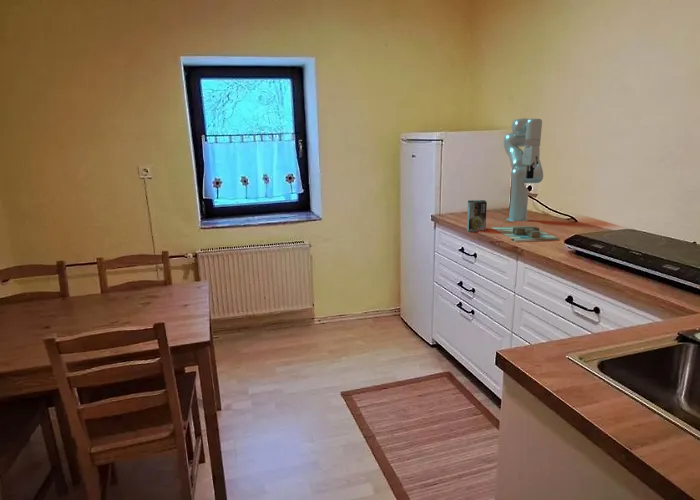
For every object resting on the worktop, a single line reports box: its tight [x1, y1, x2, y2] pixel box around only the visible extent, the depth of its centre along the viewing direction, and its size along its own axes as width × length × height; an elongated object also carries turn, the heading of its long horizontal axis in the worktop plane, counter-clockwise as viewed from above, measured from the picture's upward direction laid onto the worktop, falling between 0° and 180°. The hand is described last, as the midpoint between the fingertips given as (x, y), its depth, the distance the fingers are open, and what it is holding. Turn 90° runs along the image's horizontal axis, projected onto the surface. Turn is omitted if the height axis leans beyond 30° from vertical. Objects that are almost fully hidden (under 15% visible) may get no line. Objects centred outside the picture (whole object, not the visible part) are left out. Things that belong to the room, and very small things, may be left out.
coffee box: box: [466, 199, 488, 233], centre depth 241 cm, size 9×6×16 cm
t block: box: [512, 226, 540, 238], centre depth 226 cm, size 12×12×3 cm
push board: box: [490, 225, 560, 243], centre depth 233 cm, size 30×22×1 cm
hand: (529, 178), depth 241 cm, fingers closed
